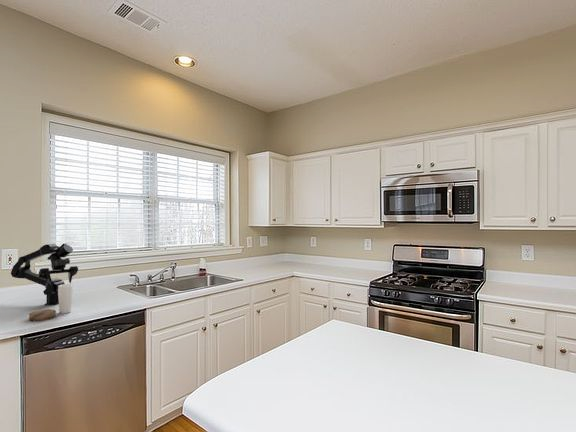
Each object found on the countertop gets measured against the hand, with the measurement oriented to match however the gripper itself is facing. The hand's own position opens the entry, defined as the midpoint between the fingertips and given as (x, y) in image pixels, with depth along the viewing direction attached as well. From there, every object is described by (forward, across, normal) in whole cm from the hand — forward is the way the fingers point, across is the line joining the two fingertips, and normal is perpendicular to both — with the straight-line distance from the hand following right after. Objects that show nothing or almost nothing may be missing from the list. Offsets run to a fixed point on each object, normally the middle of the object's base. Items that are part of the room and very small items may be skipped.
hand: (61, 283), depth 188 cm
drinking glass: (+19, -1, 0) cm, 19 cm away
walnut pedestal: (+21, -12, -2) cm, 24 cm away
